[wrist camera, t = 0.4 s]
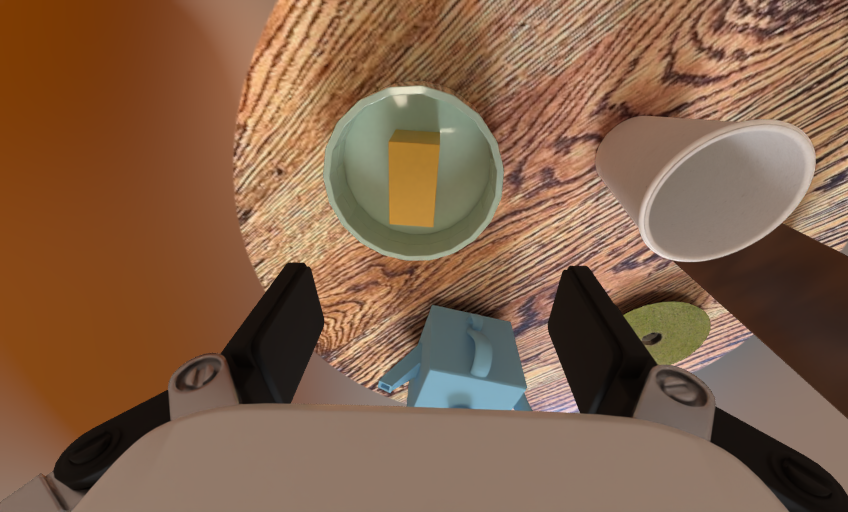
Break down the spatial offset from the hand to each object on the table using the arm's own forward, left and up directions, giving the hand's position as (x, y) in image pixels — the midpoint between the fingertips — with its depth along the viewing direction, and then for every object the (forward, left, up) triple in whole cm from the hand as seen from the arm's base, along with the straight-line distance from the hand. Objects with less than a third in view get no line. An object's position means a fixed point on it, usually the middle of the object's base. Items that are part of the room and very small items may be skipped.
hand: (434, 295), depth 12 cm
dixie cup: (-9, +13, -18) cm, 24 cm away
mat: (+3, +31, -18) cm, 36 cm away
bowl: (+2, -1, -18) cm, 18 cm away
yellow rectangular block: (+2, -1, -17) cm, 17 cm away
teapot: (+17, +15, -18) cm, 29 cm away
